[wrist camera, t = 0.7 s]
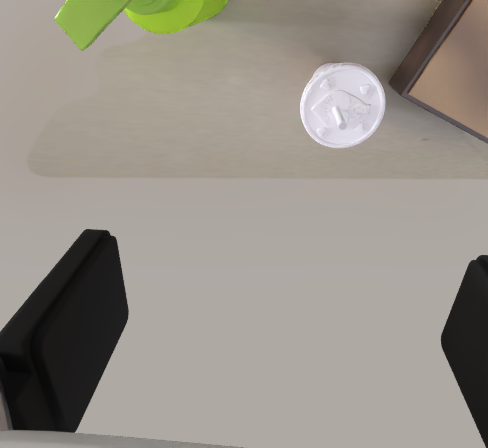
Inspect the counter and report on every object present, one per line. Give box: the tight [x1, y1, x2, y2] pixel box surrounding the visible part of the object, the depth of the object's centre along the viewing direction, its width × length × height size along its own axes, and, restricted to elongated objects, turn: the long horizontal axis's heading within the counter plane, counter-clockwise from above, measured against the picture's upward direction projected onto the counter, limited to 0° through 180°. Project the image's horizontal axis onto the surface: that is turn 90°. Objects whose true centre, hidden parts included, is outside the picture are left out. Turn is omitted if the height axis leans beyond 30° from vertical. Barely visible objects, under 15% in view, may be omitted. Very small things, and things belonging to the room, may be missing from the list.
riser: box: [389, 0, 488, 143], centre depth 34 cm, size 10×10×5 cm
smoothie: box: [300, 62, 385, 148], centre depth 32 cm, size 6×6×14 cm
